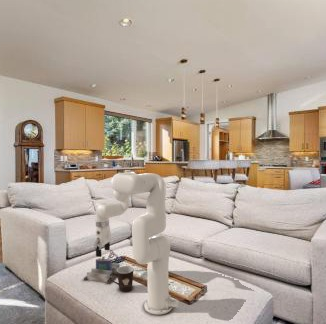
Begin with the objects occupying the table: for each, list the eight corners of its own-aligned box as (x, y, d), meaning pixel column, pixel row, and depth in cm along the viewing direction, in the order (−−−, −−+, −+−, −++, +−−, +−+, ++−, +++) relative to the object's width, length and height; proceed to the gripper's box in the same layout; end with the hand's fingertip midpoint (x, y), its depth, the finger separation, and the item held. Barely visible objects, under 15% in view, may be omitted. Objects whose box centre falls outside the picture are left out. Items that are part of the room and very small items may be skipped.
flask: (112, 274, 147) (111, 255, 147) (110, 276, 144) (110, 257, 144) (96, 273, 148) (96, 255, 148) (95, 276, 145) (94, 257, 145)
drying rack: (122, 270, 152) (122, 263, 152) (108, 283, 136) (108, 276, 136) (99, 267, 157) (99, 260, 157) (84, 280, 141) (83, 272, 141)
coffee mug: (136, 285, 133) (136, 266, 133) (130, 294, 125) (130, 274, 125) (115, 283, 136) (115, 264, 136) (108, 291, 128) (108, 271, 128)
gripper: (100, 228, 136) (101, 260, 137) (115, 220, 153) (115, 248, 153) (88, 227, 139) (89, 258, 139) (104, 219, 155) (104, 247, 156)
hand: (103, 253), depth 146 cm, fingers open, 9 cm apart
